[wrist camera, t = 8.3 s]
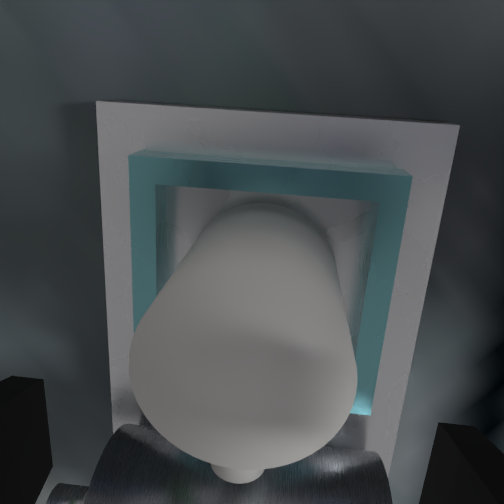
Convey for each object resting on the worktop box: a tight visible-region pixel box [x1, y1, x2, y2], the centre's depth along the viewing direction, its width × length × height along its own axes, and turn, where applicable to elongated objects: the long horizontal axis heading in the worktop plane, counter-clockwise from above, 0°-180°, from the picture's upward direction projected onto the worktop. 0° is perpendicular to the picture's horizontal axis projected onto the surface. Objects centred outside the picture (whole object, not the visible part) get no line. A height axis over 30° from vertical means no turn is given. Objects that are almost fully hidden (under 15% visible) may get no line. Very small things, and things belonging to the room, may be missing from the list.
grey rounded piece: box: [128, 203, 358, 484], centre depth 13 cm, size 5×7×6 cm
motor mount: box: [46, 100, 460, 504], centre depth 15 cm, size 12×18×8 cm, turn 177°
